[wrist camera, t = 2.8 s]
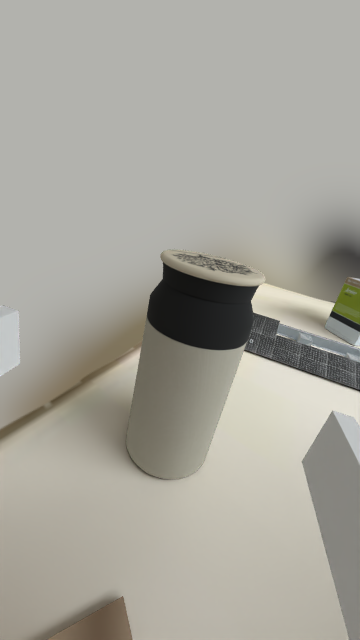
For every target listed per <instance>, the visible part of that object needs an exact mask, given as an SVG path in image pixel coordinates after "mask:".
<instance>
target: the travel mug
mask: <svg viewBox="0 0 360 640" xmlns="http://www.w3.org/2000/svg"><path fill="white" fill-rule="evenodd" d="M161 260H162V261H163V279H162V281H161V282H160V283H159V284H158V286H157V287H156V288H155V289H154V291H153V292H152V293H151V295H150V300H149V306H148V312H147V318H146V324H145V330H144V335H143V341H142V347H141V353H140V359H139V365H138V371H137V377H136V383H135V388H134V394H133V400H132V406H131V412H130V418H129V424H128V430H127V436H126V445H127V449H128V452H129V454H130V456H131V458H132V459H133V461H134V462H135V463H136V464H137V465H138V466H139V467H140V468H141V469H142V470H144V471H145V472H147V473H148V474H150V475H152V476H155V477H158V478H162V479H181V478H184V477H187V476H189V475H191V474H193V473H195V472H196V471H197V470H198V469H199V468H200V467H201V466H202V464H203V462H204V460H205V458H206V455H207V452H208V449H209V447H210V444H211V441H212V438H213V435H214V433H215V430H216V427H217V424H218V421H219V419H220V416H221V413H222V410H223V407H224V405H225V402H226V399H227V396H228V393H229V391H230V388H231V385H232V382H233V379H234V377H235V374H236V371H237V368H238V365H239V363H240V360H241V357H242V354H243V351H244V349H245V346H246V343H247V340H248V338H249V335H250V332H251V329H252V326H253V324H254V316H253V310H252V304H251V300H252V298H253V296H254V294H255V292H256V290H257V288H258V287H259V285H261V284H263V283H264V282H265V276H264V275H263V274H262V273H261V272H260V271H258V270H256V269H254V268H252V267H250V266H247V265H244V264H242V263H238V262H236V261H233V260H229V259H225V258H222V257H218V256H214V255H209V254H205V253H199V252H194V251H186V250H166V251H163V252H162V253H161Z"/></svg>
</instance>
